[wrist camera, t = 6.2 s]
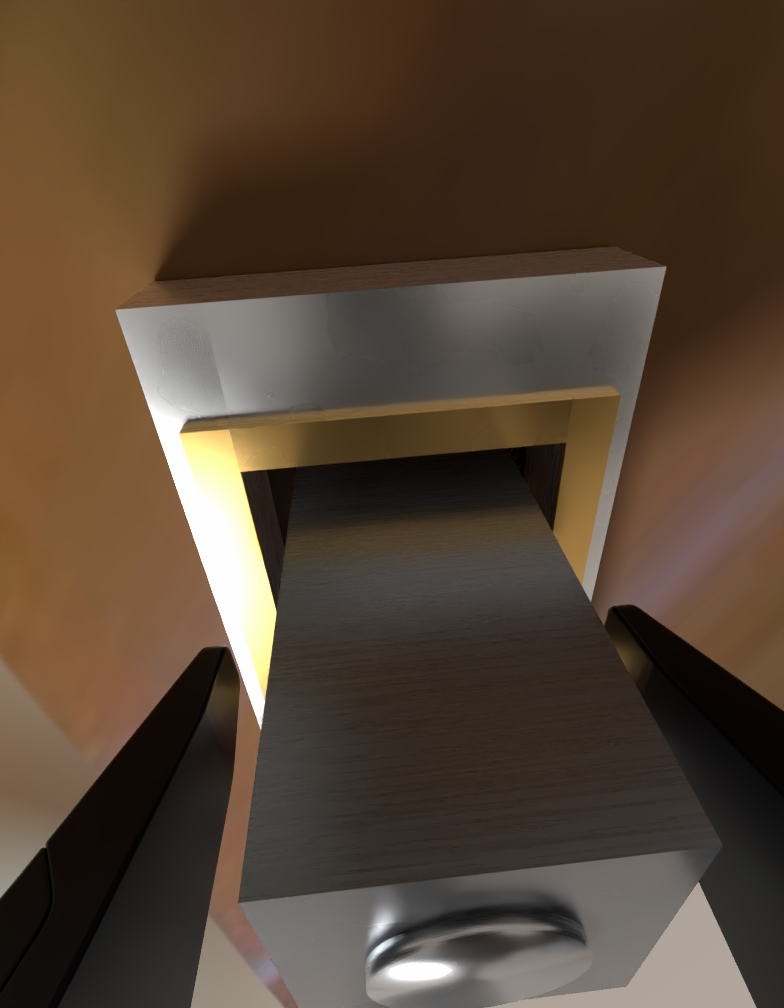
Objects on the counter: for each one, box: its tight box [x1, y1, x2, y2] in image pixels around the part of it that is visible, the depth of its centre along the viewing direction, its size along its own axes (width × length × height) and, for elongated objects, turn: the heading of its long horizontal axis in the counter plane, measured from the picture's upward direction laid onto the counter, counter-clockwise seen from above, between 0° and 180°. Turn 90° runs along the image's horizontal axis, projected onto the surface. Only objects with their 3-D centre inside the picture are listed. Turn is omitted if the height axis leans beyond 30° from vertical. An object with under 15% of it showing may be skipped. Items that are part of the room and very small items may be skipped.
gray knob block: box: [238, 448, 723, 1008], centre depth 9 cm, size 4×4×8 cm
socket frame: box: [115, 246, 666, 729], centre depth 15 cm, size 24×8×2 cm, turn 3°
